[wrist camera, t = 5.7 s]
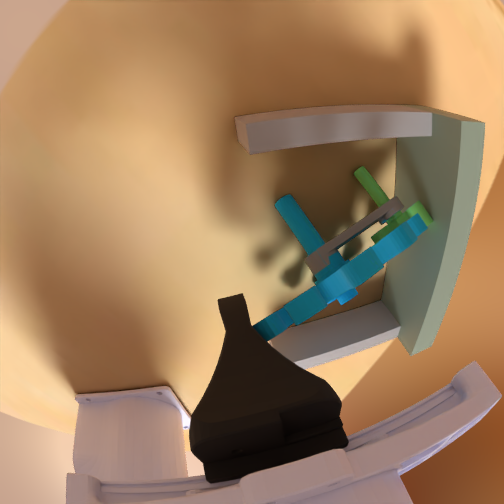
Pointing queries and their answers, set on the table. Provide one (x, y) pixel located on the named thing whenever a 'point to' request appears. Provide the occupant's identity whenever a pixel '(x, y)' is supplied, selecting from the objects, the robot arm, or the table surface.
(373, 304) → the green u-shaped bracket
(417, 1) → the table surface
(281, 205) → the blue toy cog wheel
